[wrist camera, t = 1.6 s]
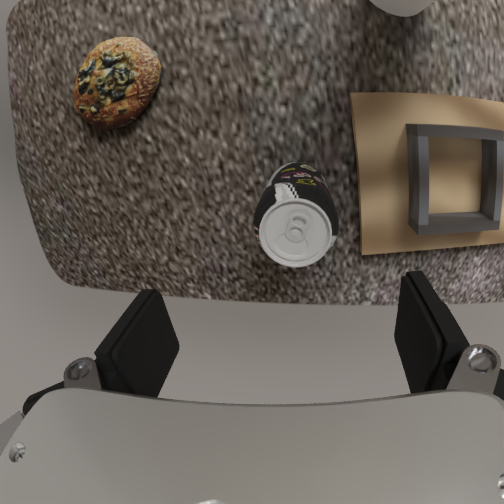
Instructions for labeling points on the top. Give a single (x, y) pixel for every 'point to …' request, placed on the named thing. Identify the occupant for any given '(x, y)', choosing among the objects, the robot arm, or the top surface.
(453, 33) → the top surface
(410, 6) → the cylindrical container
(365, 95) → the board
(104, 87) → the bread roll
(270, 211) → the beverage can
